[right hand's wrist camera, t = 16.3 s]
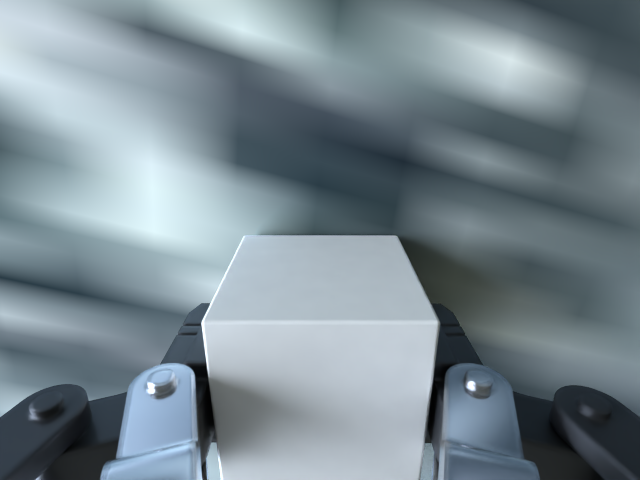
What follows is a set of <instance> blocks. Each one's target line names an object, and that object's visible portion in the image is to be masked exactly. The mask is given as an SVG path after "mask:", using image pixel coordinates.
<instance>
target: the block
mask: <svg viewBox="0 0 640 480" xmlns="http://www.w3.org/2000/svg"><path fill="white" fill-rule="evenodd" d="M439 329H440V321H439V319H438V317H437V315H436V313H435V311H434V309H433V307H432V305H431V303H430V301H429V299H428V297H427V295H426V293H425V291H424V289H423V287H422V285H421V283H420V281H419V278H418V276H417V274H416V272H415V270H414V268H413V266H412V264H411V262H410V260H409V258H408V256H407V254H406V252H405V250H404V248H403V246H402V244H401V242H400V240H399V238H398V236H382V235H246V236H244V237H243V239H242V241H241V243H240V245H239V247H238V249H237V251H236V253H235V255H234V257H233V259H232V261H231V264H230V266H229V268H228V270H227V272H226V274H225V276H224V278H223V280H222V282H221V284H220V286H219V288H218V290H217V292H216V294H215V296H214V298H213V300H212V302H211V304H210V306H209V308H208V310H207V312H206V314H205V316H204V318H203V320H202V331H203V338H204V346H205V354H206V362H207V370H208V378H209V386H210V394H211V402H212V410H213V418H214V426H215V434H216V442H217V450H218V458H219V466H220V474H221V480H420V477H421V469H422V461H423V453H424V446H425V438H426V430H427V422H428V414H429V407H430V399H431V391H432V383H433V376H434V368H435V360H436V352H437V344H438V337H439Z"/></svg>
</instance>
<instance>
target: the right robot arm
mask: <svg viewBox="0 0 640 480" xmlns="http://www.w3.org/2000/svg"><path fill="white" fill-rule="evenodd" d="M210 304H211V303H201V304H200V305H199V306H198V307H196V308H195V309H194V310H192V311H191V312H190V313H189V314H188V316H187V318H186V319H185V321H184V323H183V326H182V327H181V328H180V330H179V332H178V335H176V337H175V339H174V341H173V343H172V344H171V346H170V348H169V350H168V351H167V353H166V355H165V357H164V359H163V360H162V362H161V364H160V365H157V366H154V367H151V368H149V369H147V370H145V371H144V372H142V373H141V374H139V375H138V376H137V377H136V378H135V379H134V380H133V381H132V382H131V384H130V385H129V388H128V392H125V393H122V394H118V395H114V396H110V397H105V398H101V399H96V400H92V401H88V397H87V394H86V391H85V390H84V389H83V388H82V387H80V386H77V385H72V384H63V385H57V386H52V387H49V388H46V389H43V390H40V391H38V392H36V393H34V394H32V395H31V396H29V397H27V398H26V399H24V400H23V401H21V402H20V403H19V404H17V405H16V406H15V407H13V408H12V409H11V410H9V411H8V412H7V413H5V414H4V415H3V416H2V417H0V480H208V466H207V459H206V458H207V455H208V452H209V448H210V445H211V442H216V434H215V426H214V418H213V410H212V402H211V394H210V386H209V378H208V370H207V362H206V354H205V346H204V338H203V331H202V320H203V318H204V316H205V314H206V312H207V310H208V308H209V306H210ZM431 305H432V307H433V309H434V311H435V313H436V315H437V317H438V319H439V321H440V329H439V337H438V344H437V352H436V360H435V368H434V376H433V383H432V391H431V399H430V407H429V414H428V422H427V430H426V438H425V443H432V446H433V449H434V459H433V466H432V480H640V417H638V416H637V415H636V414H635V413H633V412H632V411H631V410H629V409H628V408H627V407H625V406H624V405H623V404H621V403H620V402H619V401H617V400H616V399H614V398H612V397H611V396H609V395H607V394H605V393H603V392H601V391H598V390H595V389H592V388H589V387H584V386H576V385H571V386H565V387H562V388H560V389H558V390H557V392H556V393H555V396H554V400H553V401H548V400H544V399H539V398H535V397H531V396H526V395H523V394H519V393H516V392H514V391H512V388H511V385H510V384H509V382H508V381H507V380H506V379H505V378H504V377H503V376H502V375H501V374H500V373H498V372H497V371H495V370H493V369H491V368H489V367H486V366H483V364H482V363H481V361H480V359H479V357H478V356H477V354H476V352H475V350H474V349H473V347H472V345H471V343H470V342H469V340H468V338H467V336H465V333H464V331H463V329H462V328H461V326H460V324H459V322H458V321H457V319H456V317H455V315H454V314H453V313H452V312H451V311H450V310H448V309H447V308H446V307H444V306H443V305H442V304H431Z"/></svg>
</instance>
